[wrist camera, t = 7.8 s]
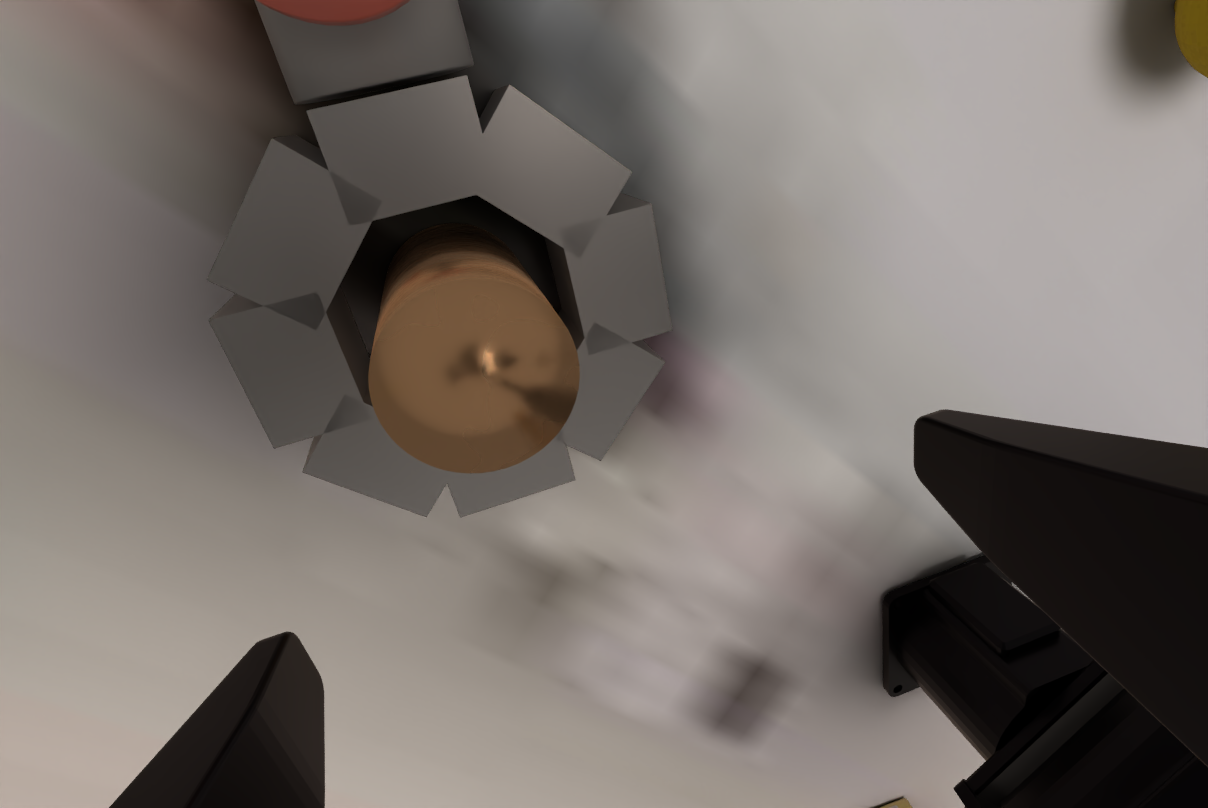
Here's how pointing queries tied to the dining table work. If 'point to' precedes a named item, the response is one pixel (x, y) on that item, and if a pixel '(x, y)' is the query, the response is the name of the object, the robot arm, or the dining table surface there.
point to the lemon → (1193, 32)
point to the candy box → (898, 804)
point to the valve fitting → (406, 183)
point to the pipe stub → (469, 354)
